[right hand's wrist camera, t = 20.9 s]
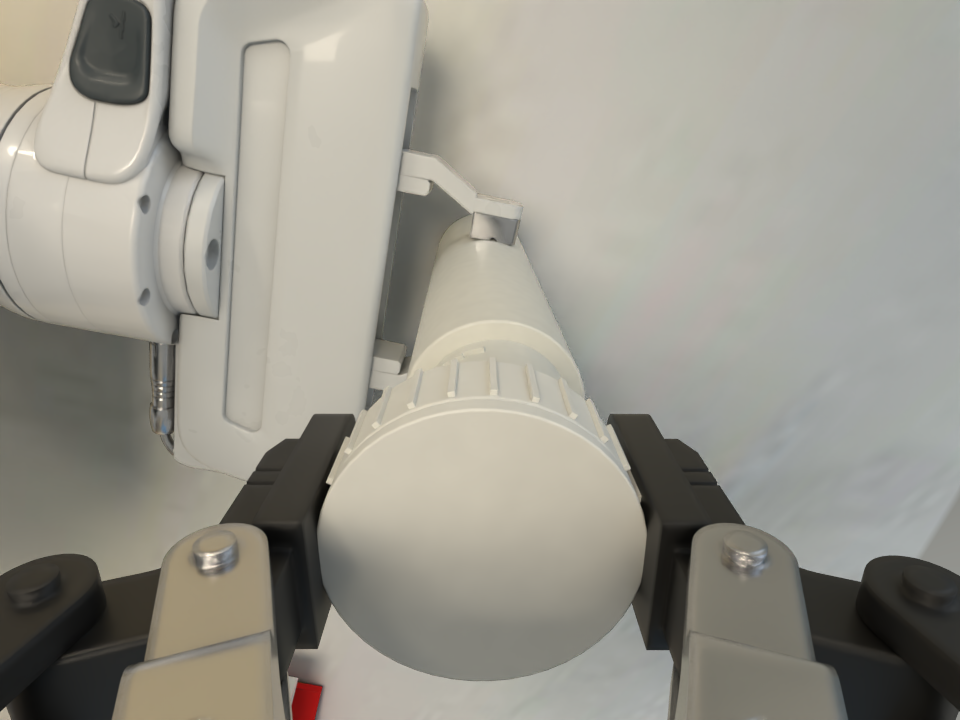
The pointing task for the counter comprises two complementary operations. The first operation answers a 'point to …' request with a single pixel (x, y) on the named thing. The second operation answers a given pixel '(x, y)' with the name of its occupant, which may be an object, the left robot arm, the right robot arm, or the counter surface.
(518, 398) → the lid
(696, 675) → the right robot arm
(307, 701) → the toy
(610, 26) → the counter surface
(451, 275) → the slender white bottle
